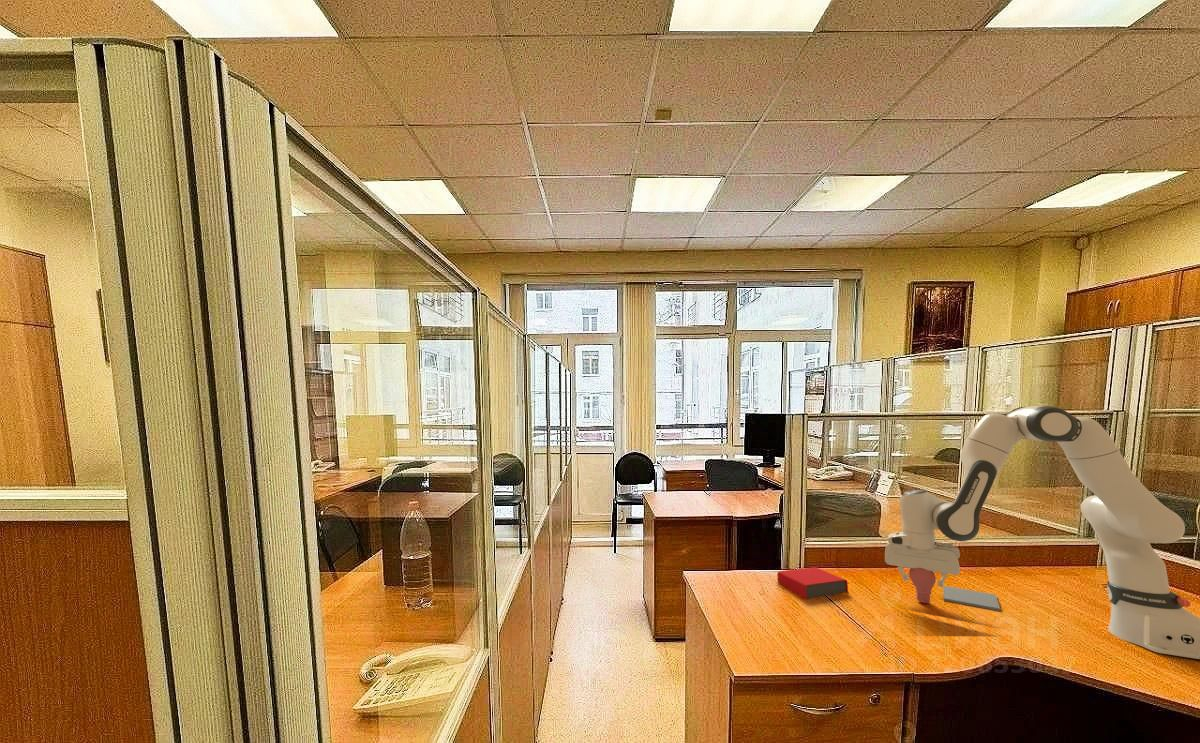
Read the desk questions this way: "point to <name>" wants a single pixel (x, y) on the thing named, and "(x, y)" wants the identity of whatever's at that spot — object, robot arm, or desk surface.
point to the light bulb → (922, 583)
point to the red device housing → (812, 582)
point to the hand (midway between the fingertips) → (922, 583)
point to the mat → (971, 598)
